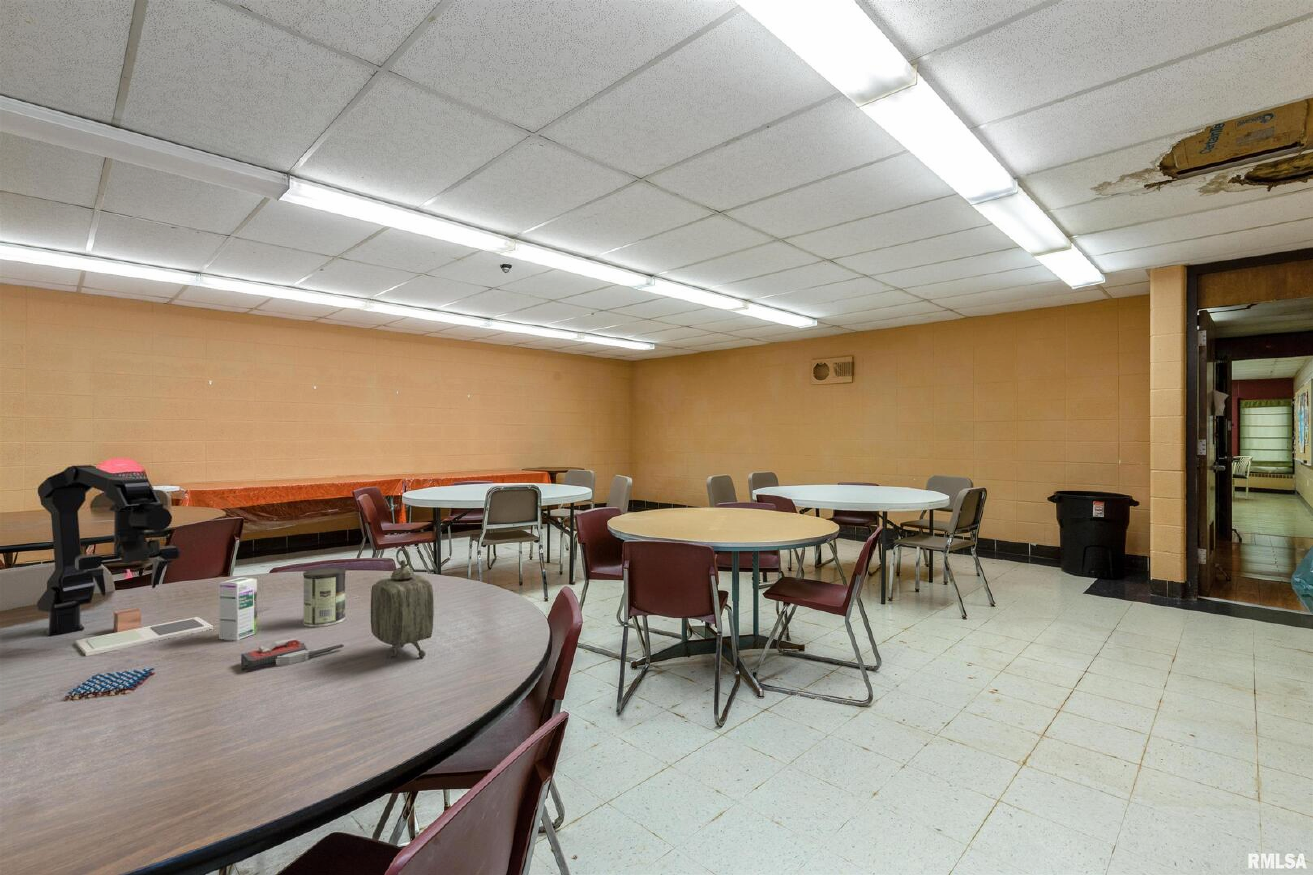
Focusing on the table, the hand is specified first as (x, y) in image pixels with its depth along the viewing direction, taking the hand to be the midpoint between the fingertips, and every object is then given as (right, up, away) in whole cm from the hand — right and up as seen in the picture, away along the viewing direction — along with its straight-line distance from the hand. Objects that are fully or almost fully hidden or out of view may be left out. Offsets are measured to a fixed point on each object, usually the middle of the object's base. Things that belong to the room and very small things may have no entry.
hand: (129, 591), depth 142 cm
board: (+2, -12, +3) cm, 13 cm away
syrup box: (+25, -13, +3) cm, 28 cm away
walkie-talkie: (+47, -13, -11) cm, 50 cm away
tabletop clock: (+71, -13, -8) cm, 73 cm away
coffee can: (+39, -13, +16) cm, 44 cm away
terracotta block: (-7, -12, +7) cm, 16 cm away
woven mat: (+21, -13, -27) cm, 36 cm away
